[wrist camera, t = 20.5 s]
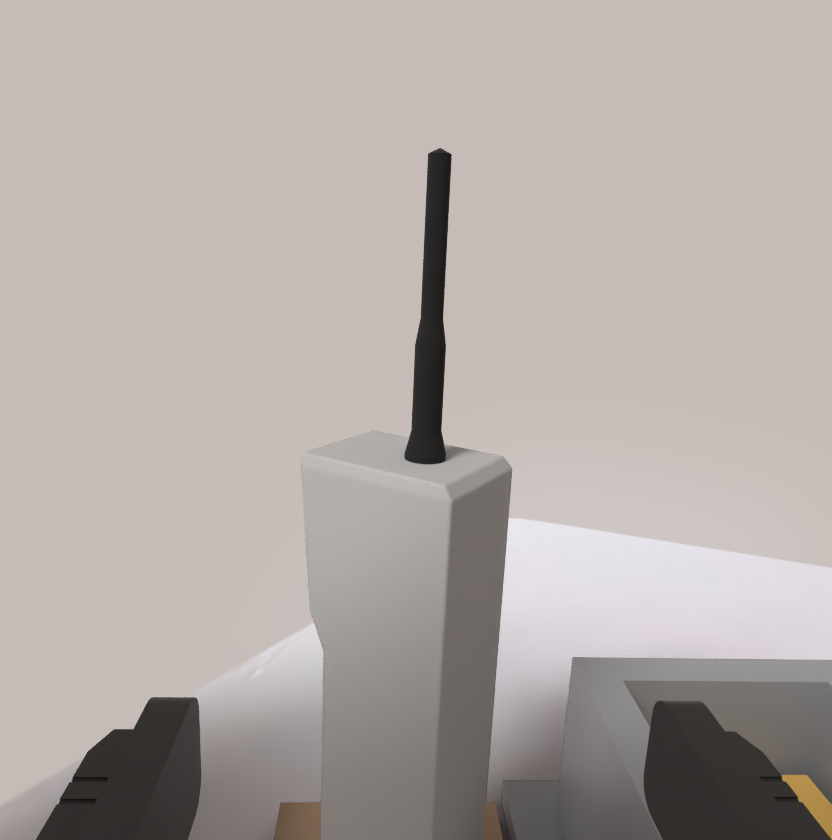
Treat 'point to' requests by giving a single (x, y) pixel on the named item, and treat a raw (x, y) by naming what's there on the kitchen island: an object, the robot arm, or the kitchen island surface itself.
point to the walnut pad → (303, 822)
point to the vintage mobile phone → (408, 601)
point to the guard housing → (630, 725)
